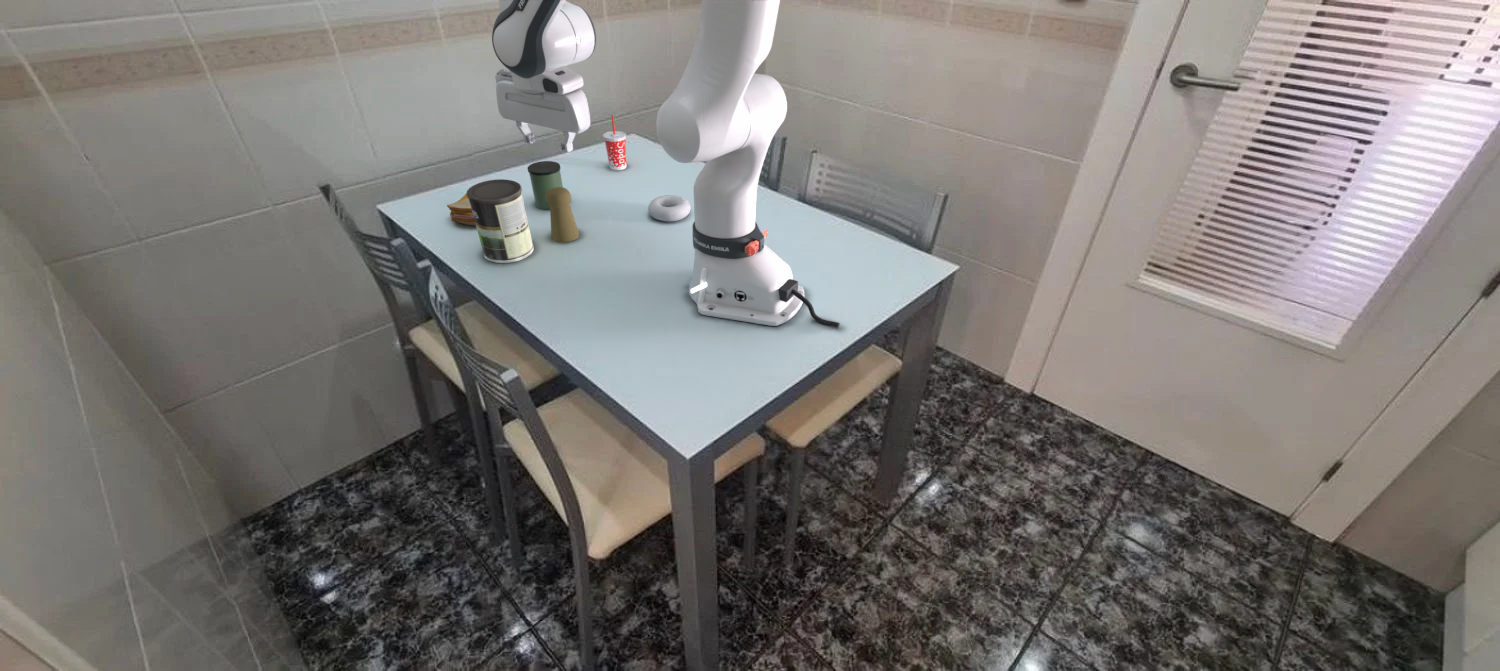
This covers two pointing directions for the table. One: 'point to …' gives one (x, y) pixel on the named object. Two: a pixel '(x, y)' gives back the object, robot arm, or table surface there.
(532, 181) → the olive tin
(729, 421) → the table surface
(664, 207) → the donut
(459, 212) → the toy sandwich meal
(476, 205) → the coffee can
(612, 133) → the beverage cup
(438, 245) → the table surface
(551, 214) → the cork
